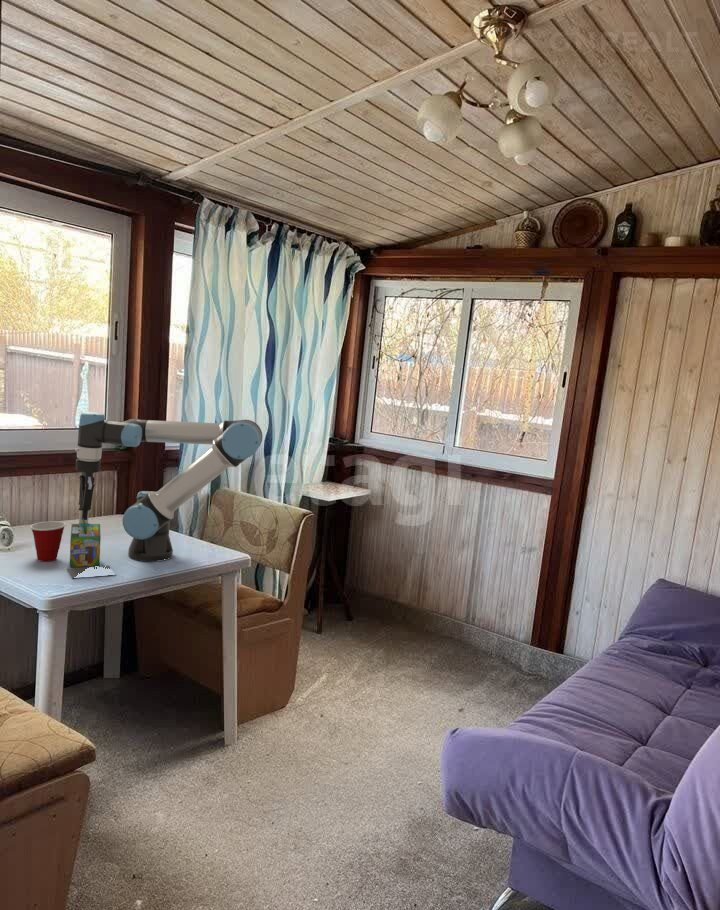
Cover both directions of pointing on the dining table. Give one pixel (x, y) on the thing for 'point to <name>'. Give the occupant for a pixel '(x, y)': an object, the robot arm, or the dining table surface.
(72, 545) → the chalk box
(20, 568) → the dining table surface
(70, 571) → the mat
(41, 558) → the plastic cup
